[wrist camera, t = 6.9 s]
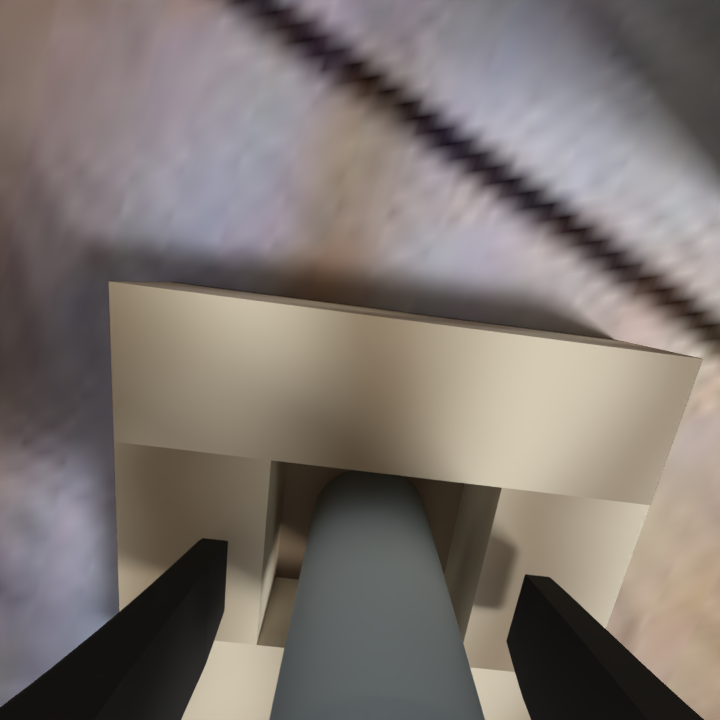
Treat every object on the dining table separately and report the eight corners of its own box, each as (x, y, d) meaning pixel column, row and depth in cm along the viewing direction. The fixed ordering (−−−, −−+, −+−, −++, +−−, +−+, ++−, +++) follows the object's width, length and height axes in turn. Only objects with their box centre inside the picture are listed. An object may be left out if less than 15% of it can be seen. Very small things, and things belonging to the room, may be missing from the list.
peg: (437, 479, 11) (533, 719, 5) (409, 573, 11) (461, 880, 6) (325, 456, 10) (278, 675, 5) (304, 553, 11) (241, 848, 5)
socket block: (616, 339, 10) (702, 358, 7) (516, 676, 13) (553, 771, 10) (174, 282, 10) (108, 281, 7) (171, 639, 13) (123, 730, 10)
